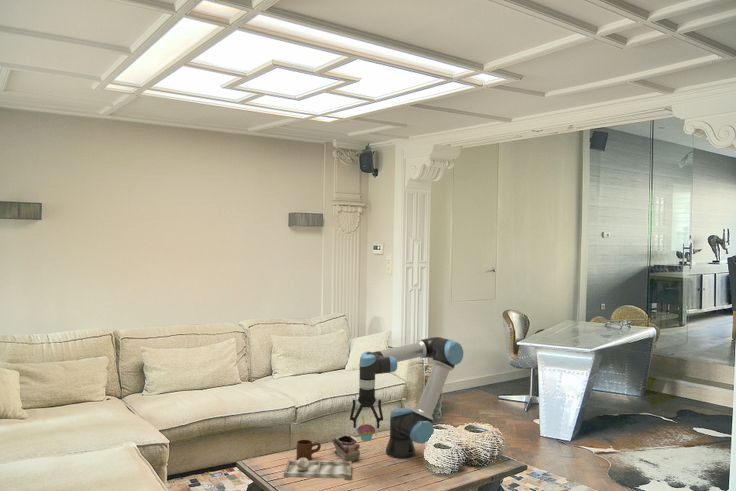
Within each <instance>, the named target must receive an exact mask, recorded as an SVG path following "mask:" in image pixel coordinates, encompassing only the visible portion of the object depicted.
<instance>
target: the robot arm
mask: <svg viewBox="0 0 736 491" xmlns="http://www.w3.org/2000/svg"><path fill="white" fill-rule="evenodd" d="M417 358H420V359H426V358H427V359H432V363H433V366H432V368H431V371H430V374H429V375H428V378H427V380H426V383H425V386H424V388H423V391H422V393H421V396H420V397H419V400H418V401H419V402H418V403H417V405H416V408H415V409H412V408H406V407H405V408H404V407H403V408H401V407H400V408H395V409H392V410H391V411H390V415H389V439H388V442H387V445H386V448H385V454H386V455H387V456H389V457H392V458H396V459H409V458H413V457H414V456H415V455H416V449H415V445H414V443H417V444H425V443H427V442H429V441H430V440H429V438H430V437H431V435H432V434H433V435H434V432H435V430H434V425H433V423H434V417H433V414H434V411H435V409H436V406H437V404H438V402H439V398H440V395H441V393H442V391H443V389H444V386H445V383H446V381H447V378H448V375H449V373H450V372H451V371H453V370H454V369H455V366H456V365H459V364H461V362H462V361H463V359H464V350H463V346H462V345H461V343H459V342H458V341H456V340H453V339H448V338H444V337H441V336H440V337H439V336H433V337H428V338H424V339H420V340H417V341H416V342H414V343H410V344H405V345H400V346H396V347H392V348H391V347H390V348H387V349H382V350H376V351H373V352H372V351H363V353H362V354H361V355H360V357H359V365H358V366H359V377H358V378H359V384H358V386H359V388H358V392H359V393H358V398H352V406H351V407H352V408H351V411H350V415H349V420H350V421H353V422H352V423H353V426H352V427H353V429H355V436H358V432H357V430H358V427H359V426H358V425H359V423H358V417H359V415H360V414H361V412H362V410H363V409H364V408H370V409H371V410H372V413H373V416H374V418H375V420H374V422H375V423H374V428H375V433H374V437H375V436H376V437H377V436H378V434H377V433H378V429H380V423H381V422H382V421H384V416H383V412H382V405H381V404H382V398H376V375H381V374H391V373H395V372H396V371H397V369H398V362H404V361H409V360H413V359H417ZM357 403H359V404H360V405H359V407H358V409H357V411H356V413H355V408H356V404H357ZM375 403H376V404H377V405H378V406H377V407H378V412H377V410H376V408H375V406H374V404H375ZM354 413H355V415H354ZM378 413H379V415H378ZM431 438H432V437H431ZM428 440H429V441H428Z"/></svg>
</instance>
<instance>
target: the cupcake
mask: <svg viewBox="0 0 736 491" xmlns="http://www.w3.org/2000/svg"><path fill="white" fill-rule="evenodd" d="M361 418H362V419H361V420H362V424H361V425H359V426H358V427H357V434H358V435H359V437H360V440H361V441H362V442H370V441H372V438H373V435H375V426H373V425H372V424H365V420H364V419H365V417H364V415H363V414H362V415H361Z"/></svg>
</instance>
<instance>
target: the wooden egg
mask: <svg viewBox="0 0 736 491" xmlns="http://www.w3.org/2000/svg"><path fill="white" fill-rule="evenodd" d="M308 467H309V461H308V459H306V458H304V457H303V458H300V459H299V460H298V461H297V468H298V469H299V470H301V471H305V470H307V469H308Z"/></svg>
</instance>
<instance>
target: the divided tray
mask: <svg viewBox="0 0 736 491" xmlns="http://www.w3.org/2000/svg"><path fill="white" fill-rule="evenodd" d="M283 477H284V478H286V477H287V478H315V479H316V478H323V479H327V478H328V479H344V480H345V481H347V480H348V481H350V480H352V462H345V461H344V460H343V461H342V460H341V461H340V460H339V461H335V460H334V461H333V460H332V461H331V460H311V461H309V467H308V469H307V470H305V471H301V470H299V469H298V468H297V459H296V460H292V459H291V460H289V459H288V460H287V461H286V466H285V468H284V471H283Z"/></svg>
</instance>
